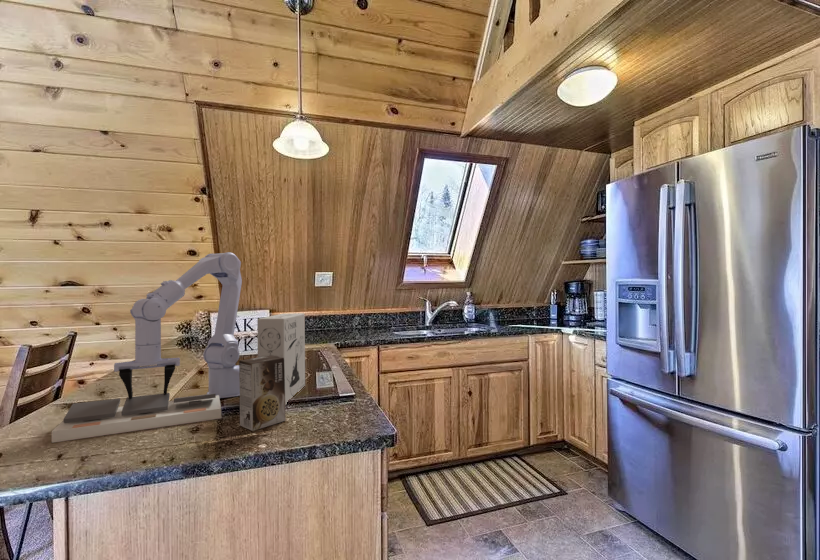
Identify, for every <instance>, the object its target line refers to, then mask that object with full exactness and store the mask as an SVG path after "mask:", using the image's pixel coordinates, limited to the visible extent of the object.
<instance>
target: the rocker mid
mask: <svg viewBox="0 0 820 560" xmlns="http://www.w3.org/2000/svg"><path fill="white" fill-rule="evenodd" d="M170 394H171V393H170V392H167V394H165V395H164V392H163V393H156V394H146V395H137V396H136V395H135V396H133V397H132V399H129V398H128V397H127V396H126V398H125V401H124V404H123V406H122V407H123V409H122V412H121V414H122V416H125V415H133V414H140V413H148V412H156V411H164V410H168V404H169V401H170Z"/></svg>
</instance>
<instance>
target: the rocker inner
mask: <svg viewBox="0 0 820 560" xmlns="http://www.w3.org/2000/svg"><path fill="white" fill-rule="evenodd" d="M209 398H216V394H215V393H214V394H207V393H206V394H199V395H190V396H182V397H181V396H180V397H175V398H173V401H174V403H177V402H185V401H193V400H201V399H209Z"/></svg>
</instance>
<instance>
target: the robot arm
mask: <svg viewBox="0 0 820 560" xmlns="http://www.w3.org/2000/svg"><path fill="white" fill-rule="evenodd" d="M241 265H242V261H241V260H240V259H239V257H238V256H237V255H236V254H235V253H233V252H230V251H228V252H222V253H208V254H206V255H205V256H204V257H202V258H200V259H199V260H198V261H197V262H196V263H195V264H194V265H193V266H192V267H190V268H189V269H188V270H187V271H185V272H184V273H183V274H182V275H180V277H178V278H177V279H176V280H171V279H169V280H168V281H167V280H163V281H162V282H161V283H160V285H161V286H159V287H157V288H156V289H155V290H153V291H152V292H148V293H147V294H146V298H141V299H138V300H136V301H135V302H134V303H133V306H132V308H131V309H129V311H130V315H131V316H132V318H133V319H134V325H135V327H134V329H135V330H134V331H135V332H134V333H135V334H134V335H135V337H134V344H135V345H134V349H135V350H134V353H135V354H134V355H135V356H134V359H135V360H129V361H122V362H121V361H120V362H115V363H114V364H113V372H114V373H115V372H116V373H117V372H119V373H118V376H119V377H120V379H121V380H122V383H123V385H124V387H125V389H126V392H127V396H128V398H129V399H132V397H134V396H133V393H134V392H133V370H142V369H153V368H154V369H155V368H163V367H164V369H163V370H164V375H163V376H164V377H163V379H164V384H163V393H164V395H165V394H167V393H168V389H169V384H170V381H171V379H172V376H173V374H174V372H175V370H176V367H180V366H181V358H180V357H172V358H171V357H170V358H169V357H167V358H164V357H163V358H162V335H161V334H162V319H163V318H164V317H165V315H166V313H167V310H168V309H170V307H172V306H173V305H174V304H175V303H177V302H178V301H179V300H181V298H183V297H184V296H185V294H186V293H185V292H186V289H188V288H189V287H190V286H192V285H193V284H195V283H196V282H198V281H199V280H201V279H202V278H203V277H204V276H206V275H211V276H212V277H214V278H215V279H217V280H218V281H219V282H220V283H221V285H222V287H221V293H220V299H219V304H218V309H217V310H218V311H217V318H216V322H215V329H214V334H213V335H212V336H210V338H209V339H208V342H207V346H206V347H205V348H204V351H203V354H202V355H203V356H202V357H203V360H204V362H206V364H207V367H208V391H207V392H206V394H214V393H215V394H216V395H219V398H220V399H224V398H232V397H238V396H239V397H240V378H239V364H238V365H236V364H237V362H238V361H239V359H240V351H239V341H238V339H236V337H235V335H234V334H235V330H236V329H235V328H236V322H237V316H238V309H239V304H240V296H241V290H242V284H243V280H242V279H243V278H242V273H241Z"/></svg>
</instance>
